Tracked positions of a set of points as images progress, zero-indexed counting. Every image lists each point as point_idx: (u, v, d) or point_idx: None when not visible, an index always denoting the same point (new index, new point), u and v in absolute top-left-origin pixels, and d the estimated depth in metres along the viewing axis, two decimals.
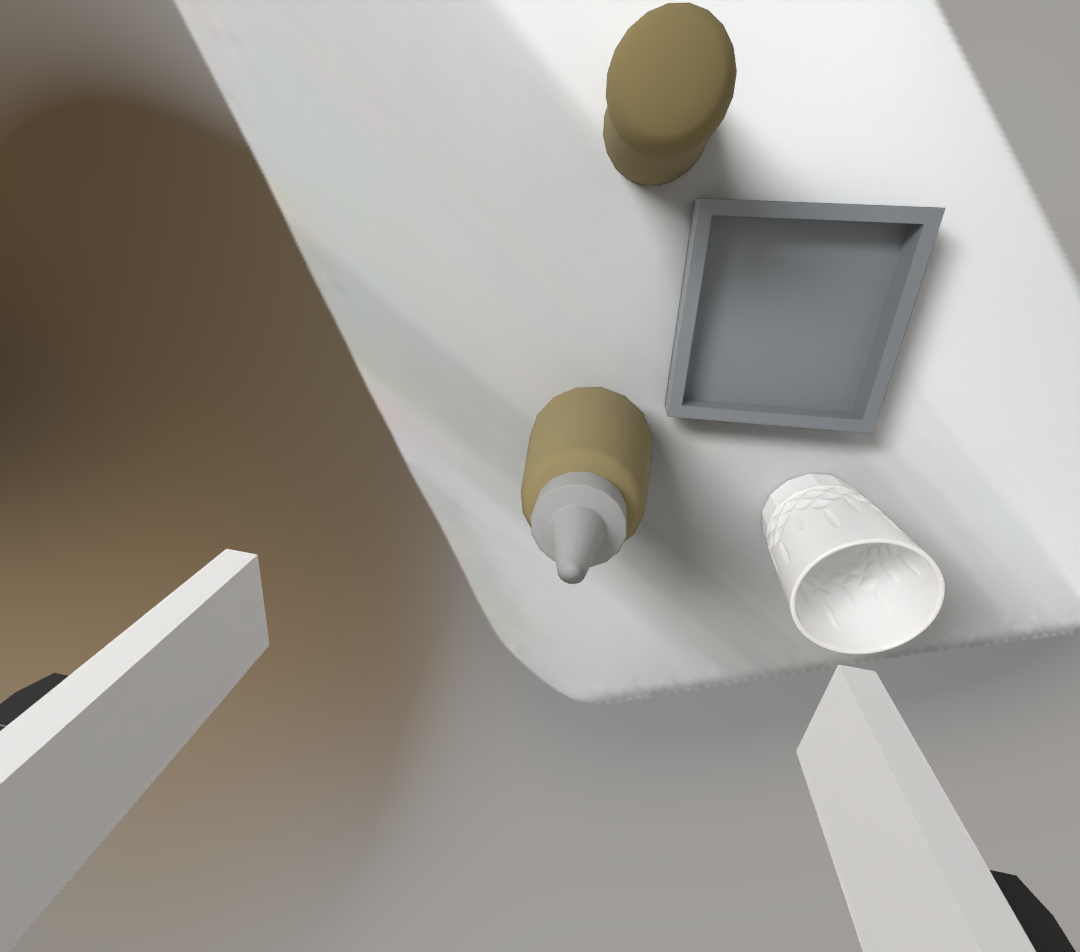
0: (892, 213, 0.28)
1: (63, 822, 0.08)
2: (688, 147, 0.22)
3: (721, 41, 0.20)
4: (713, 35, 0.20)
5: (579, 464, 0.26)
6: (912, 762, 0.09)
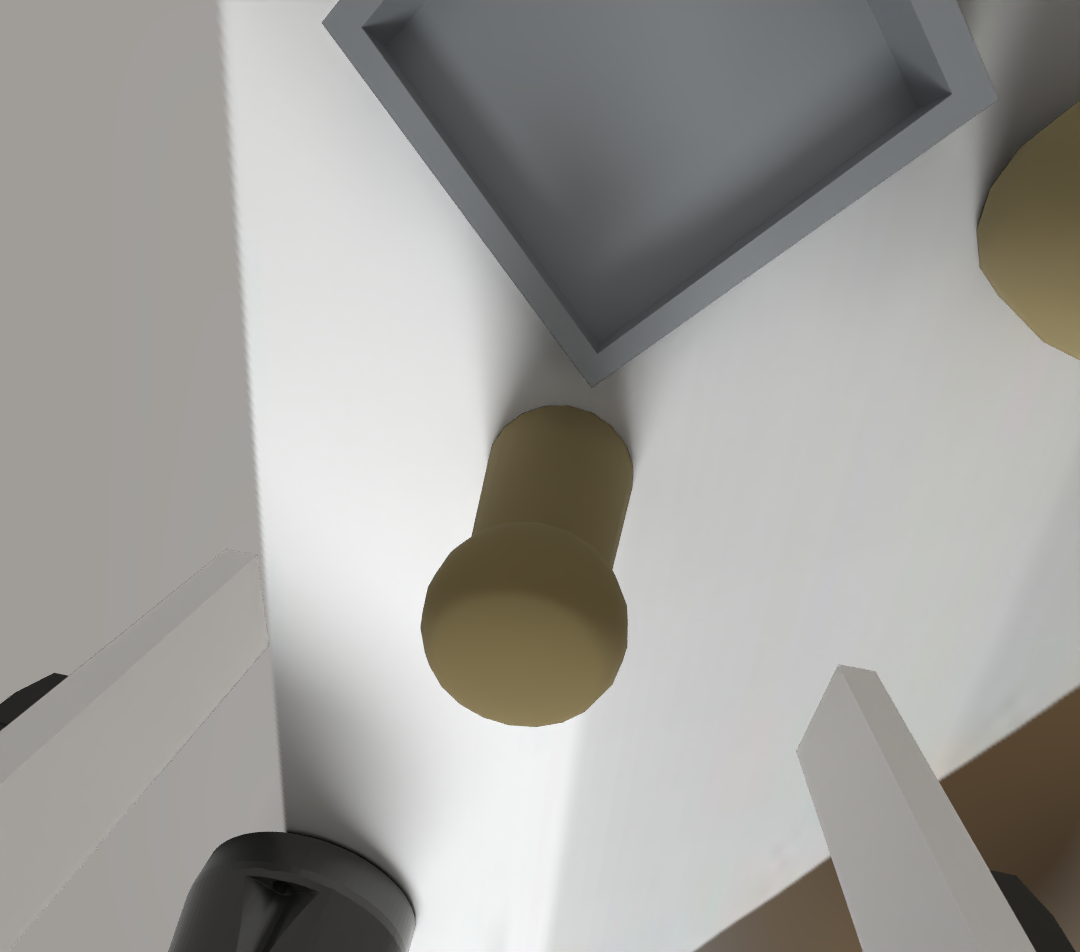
0: (392, 97, 0.15)
1: (63, 822, 0.08)
2: (568, 569, 0.12)
3: (433, 633, 0.12)
4: (437, 648, 0.12)
5: None
6: (912, 762, 0.09)
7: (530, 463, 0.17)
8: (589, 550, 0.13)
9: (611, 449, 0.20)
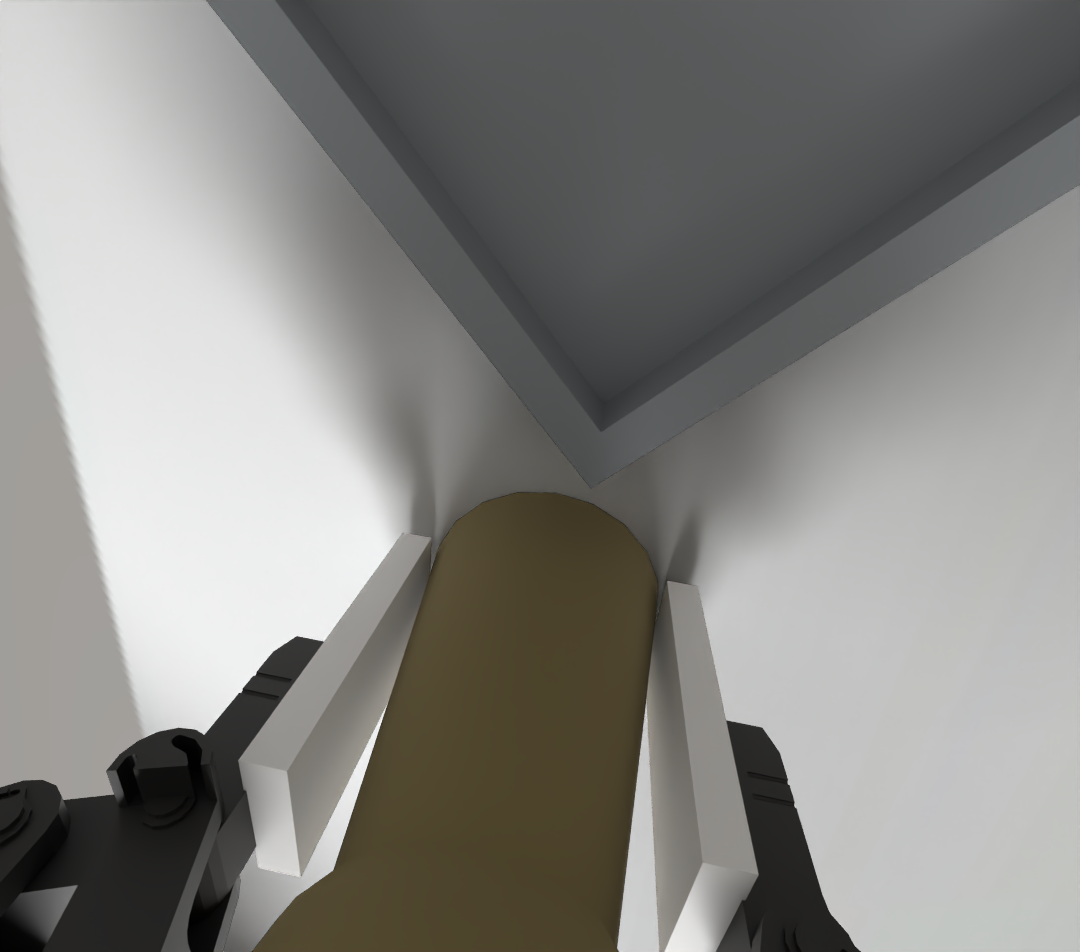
0: None
1: (337, 758, 0.10)
2: None
3: None
4: None
5: None
6: (697, 646, 0.11)
7: (478, 636, 0.09)
8: None
9: (625, 575, 0.12)
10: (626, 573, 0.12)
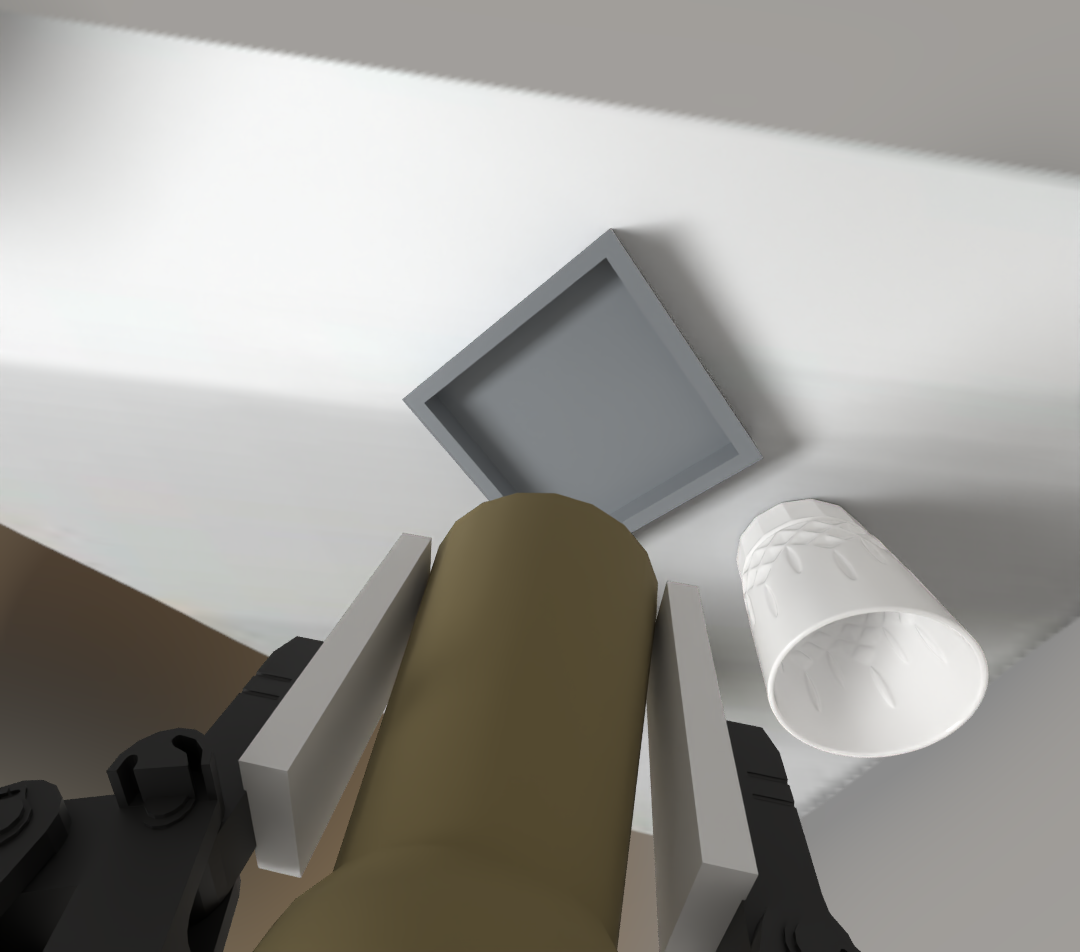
0: (567, 274, 0.23)
1: (337, 758, 0.10)
2: None
3: None
4: None
5: None
6: (697, 646, 0.11)
7: (477, 636, 0.09)
8: None
9: (625, 575, 0.12)
10: (626, 573, 0.12)
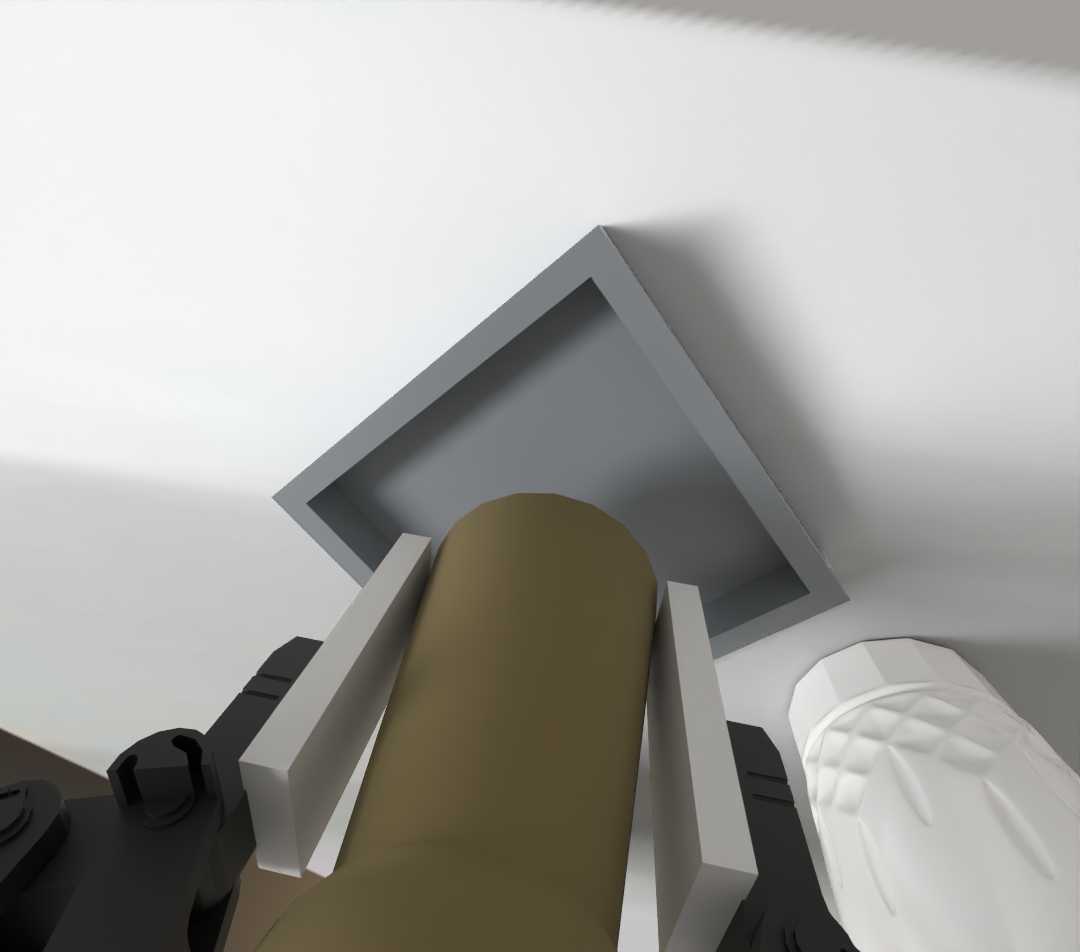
0: (525, 305, 0.13)
1: (337, 758, 0.10)
2: None
3: None
4: None
5: None
6: (697, 646, 0.11)
7: (477, 637, 0.09)
8: None
9: (625, 575, 0.12)
10: (626, 574, 0.12)
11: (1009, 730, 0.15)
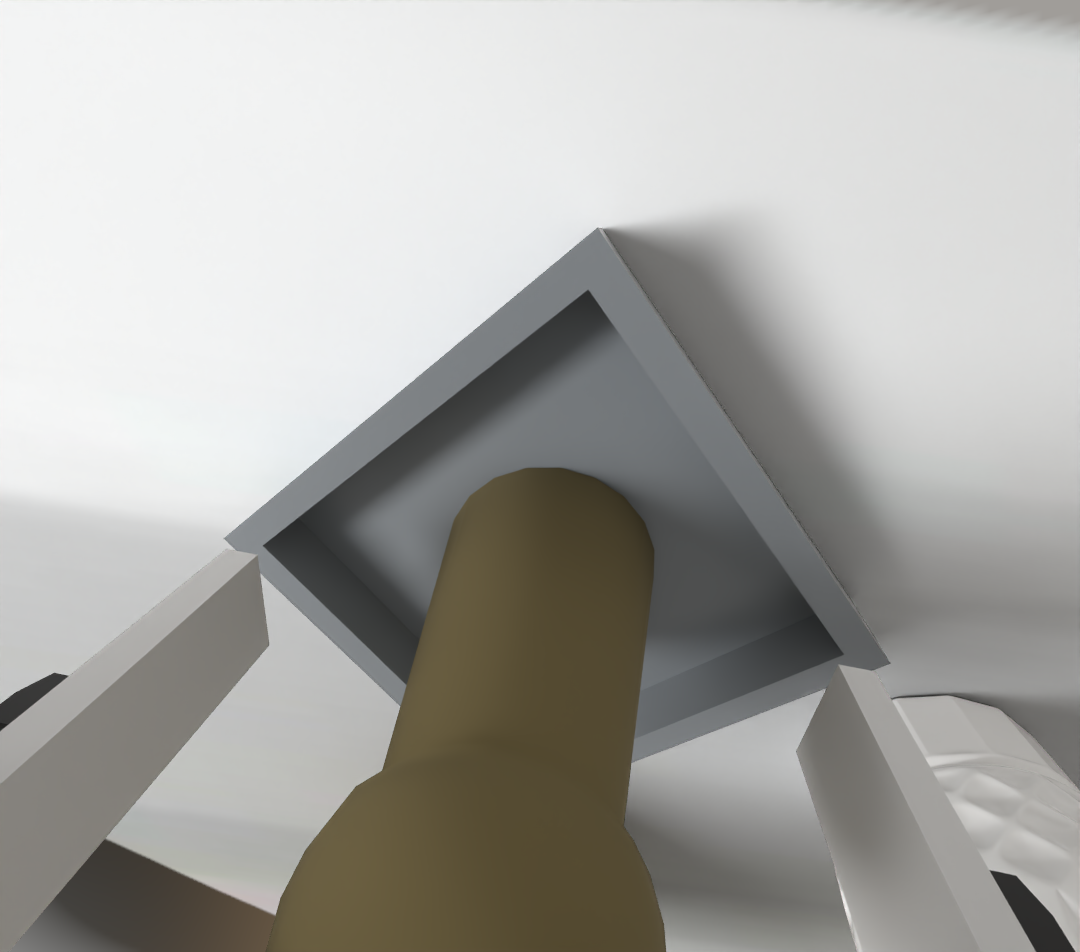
0: (510, 323, 0.11)
1: (63, 822, 0.08)
2: (546, 938, 0.06)
3: None
4: None
5: None
6: (912, 762, 0.09)
7: (496, 586, 0.11)
8: (592, 838, 0.07)
9: (625, 539, 0.13)
10: (626, 538, 0.13)
11: (1079, 819, 0.13)
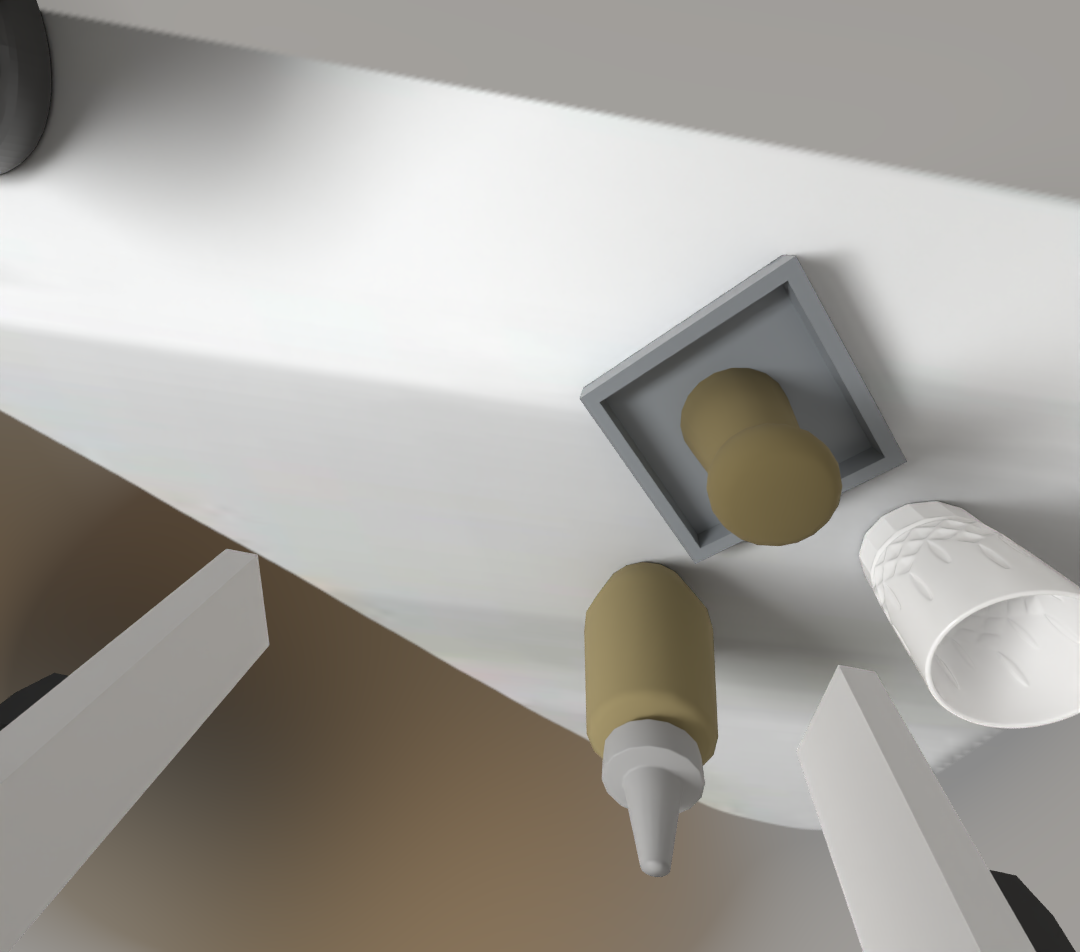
0: (750, 293, 0.27)
1: (63, 822, 0.08)
2: (817, 444, 0.21)
3: (731, 481, 0.21)
4: (732, 490, 0.21)
5: (619, 714, 0.26)
6: (912, 762, 0.09)
7: (746, 399, 0.26)
8: (818, 439, 0.22)
9: (785, 397, 0.28)
10: (785, 397, 0.28)
11: (992, 532, 0.28)
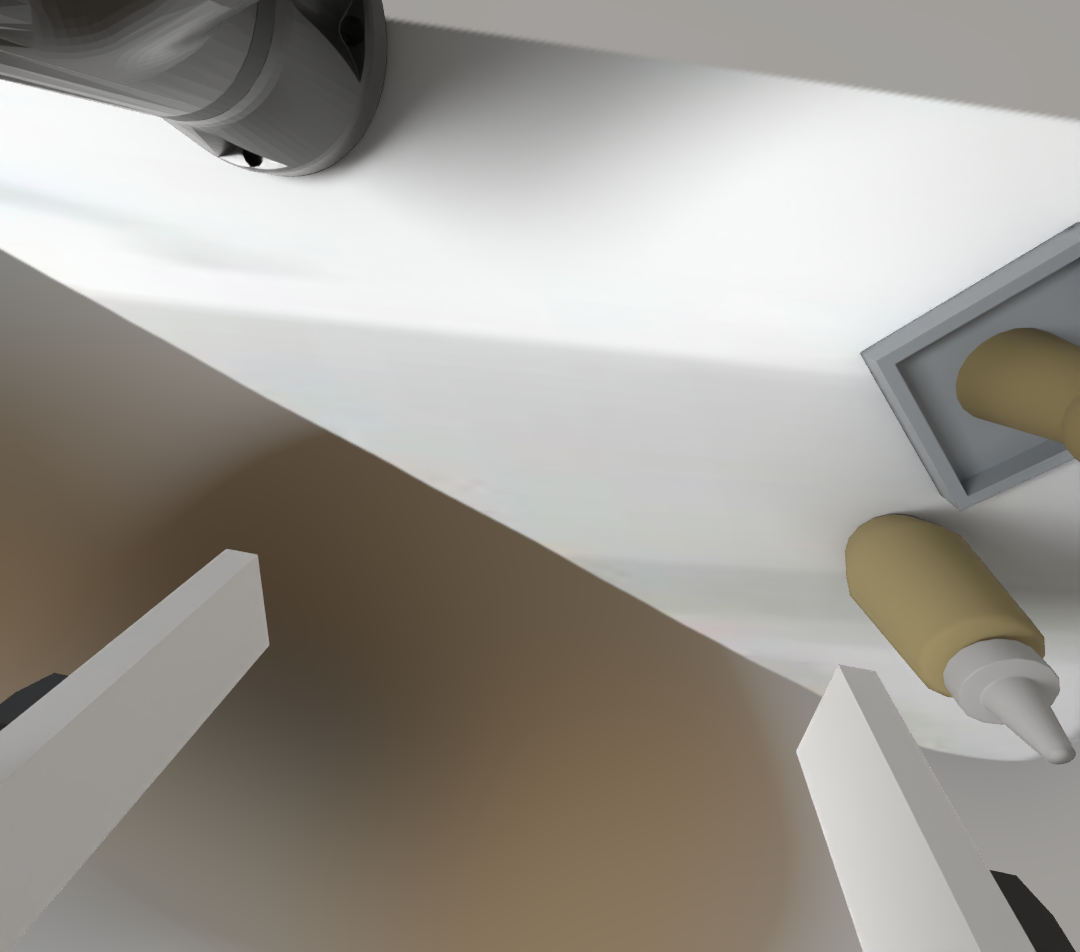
0: (1062, 258, 0.29)
1: (63, 822, 0.08)
2: None
3: None
4: None
5: (961, 637, 0.29)
6: (912, 762, 0.09)
7: (1068, 352, 0.29)
8: None
9: None
10: None
11: None
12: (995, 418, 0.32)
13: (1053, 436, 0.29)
